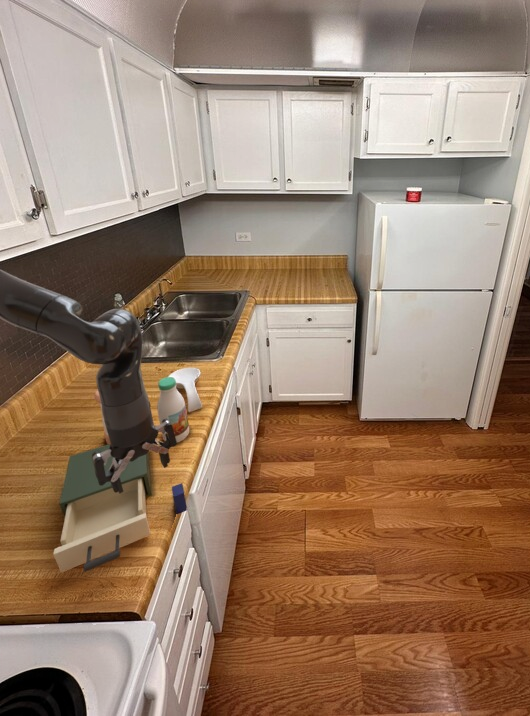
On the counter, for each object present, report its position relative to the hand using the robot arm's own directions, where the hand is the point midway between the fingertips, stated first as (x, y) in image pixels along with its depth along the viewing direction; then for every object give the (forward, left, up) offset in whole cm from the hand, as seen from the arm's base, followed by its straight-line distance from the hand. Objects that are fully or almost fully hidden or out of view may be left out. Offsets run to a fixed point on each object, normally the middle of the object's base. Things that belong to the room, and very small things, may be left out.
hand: (143, 477), depth 68 cm
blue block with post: (+5, +7, -19) cm, 21 cm away
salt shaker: (-9, +37, -19) cm, 43 cm away
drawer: (-10, +5, -18) cm, 21 cm away
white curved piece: (+13, +51, -19) cm, 56 cm away
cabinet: (-10, +19, -19) cm, 29 cm away
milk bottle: (+7, +31, -19) cm, 37 cm away
